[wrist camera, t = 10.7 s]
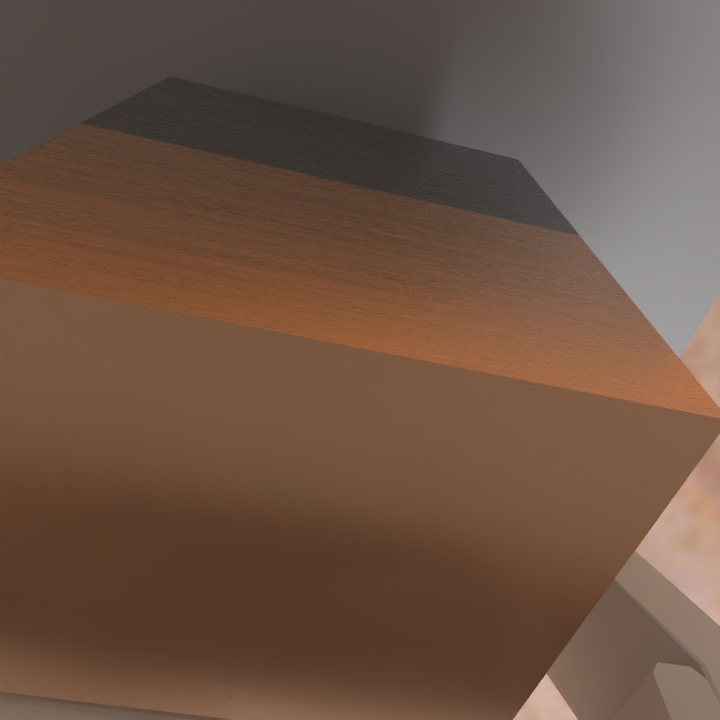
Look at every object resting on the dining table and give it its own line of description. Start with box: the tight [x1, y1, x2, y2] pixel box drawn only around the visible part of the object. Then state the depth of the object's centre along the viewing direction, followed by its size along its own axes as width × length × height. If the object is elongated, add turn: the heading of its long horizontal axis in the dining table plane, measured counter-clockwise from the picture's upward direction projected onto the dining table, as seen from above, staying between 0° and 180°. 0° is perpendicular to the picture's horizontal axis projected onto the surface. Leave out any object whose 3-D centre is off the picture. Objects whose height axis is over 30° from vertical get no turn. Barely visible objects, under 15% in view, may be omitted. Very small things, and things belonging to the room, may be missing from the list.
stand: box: [0, 0, 720, 358], centre depth 13 cm, size 15×15×4 cm
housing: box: [0, 77, 720, 720], centre depth 8 cm, size 5×8×6 cm, turn 168°
